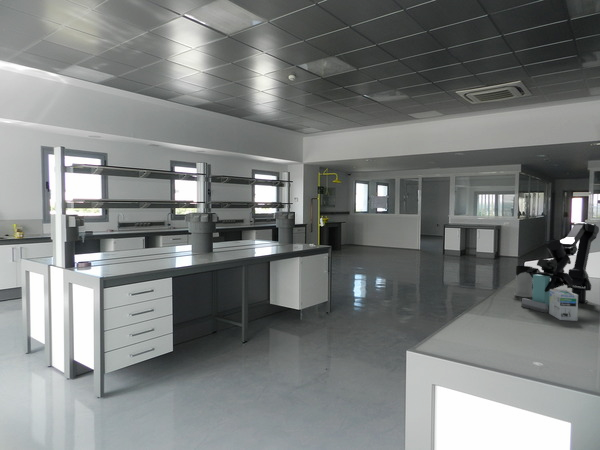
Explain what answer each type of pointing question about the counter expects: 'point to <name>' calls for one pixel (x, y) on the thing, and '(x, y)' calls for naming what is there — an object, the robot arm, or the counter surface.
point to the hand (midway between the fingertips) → (538, 289)
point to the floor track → (535, 305)
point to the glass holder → (523, 282)
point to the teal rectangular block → (541, 288)
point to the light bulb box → (563, 305)
